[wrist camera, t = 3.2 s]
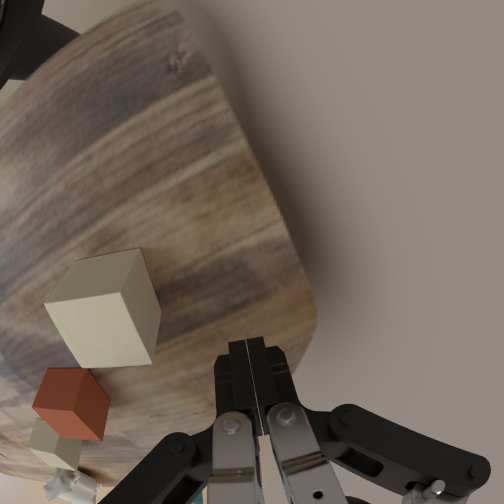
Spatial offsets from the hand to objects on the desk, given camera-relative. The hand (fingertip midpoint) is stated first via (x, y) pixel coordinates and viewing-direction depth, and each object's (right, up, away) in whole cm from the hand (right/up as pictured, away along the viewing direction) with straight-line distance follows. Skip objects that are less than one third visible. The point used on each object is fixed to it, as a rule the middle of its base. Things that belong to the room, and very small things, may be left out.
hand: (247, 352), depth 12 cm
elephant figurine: (-31, -34, +21) cm, 51 cm away
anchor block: (-16, -8, +10) cm, 21 cm away
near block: (-9, +2, +6) cm, 11 cm away
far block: (-25, -19, +14) cm, 34 cm away
